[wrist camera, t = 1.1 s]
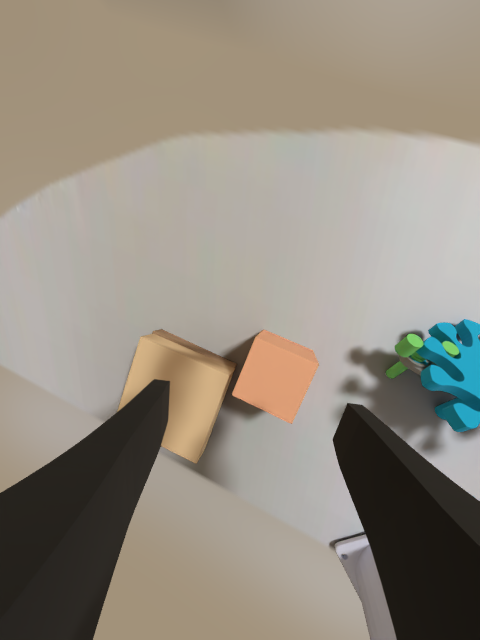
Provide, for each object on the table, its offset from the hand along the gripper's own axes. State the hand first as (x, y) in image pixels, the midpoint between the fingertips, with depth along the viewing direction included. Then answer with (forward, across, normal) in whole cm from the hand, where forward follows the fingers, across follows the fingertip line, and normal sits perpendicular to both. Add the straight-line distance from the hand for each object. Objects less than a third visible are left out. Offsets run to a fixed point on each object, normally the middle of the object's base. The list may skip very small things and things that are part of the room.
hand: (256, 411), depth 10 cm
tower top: (+10, +5, +8) cm, 14 cm away
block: (+11, -3, +4) cm, 12 cm away
